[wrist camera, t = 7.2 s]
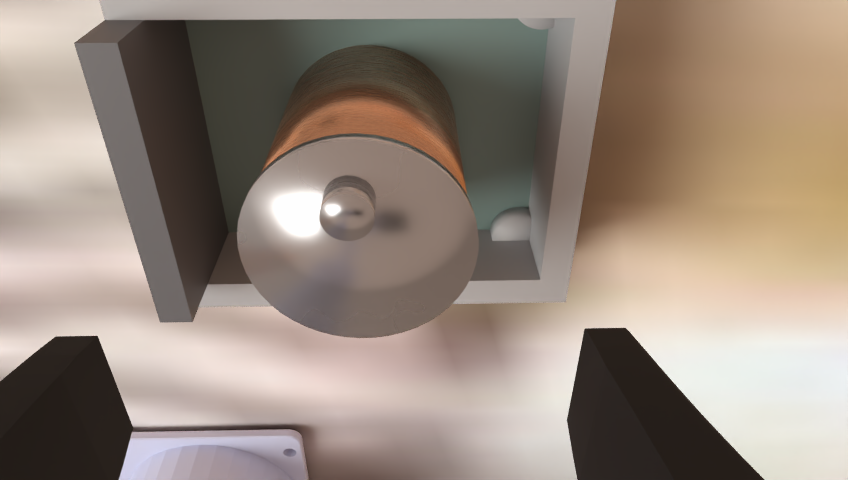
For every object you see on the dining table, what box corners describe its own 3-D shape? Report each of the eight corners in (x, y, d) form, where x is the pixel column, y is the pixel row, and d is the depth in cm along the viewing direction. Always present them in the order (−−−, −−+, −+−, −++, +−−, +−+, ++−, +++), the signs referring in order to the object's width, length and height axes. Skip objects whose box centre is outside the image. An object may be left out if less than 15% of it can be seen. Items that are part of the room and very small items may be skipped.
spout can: (464, 195, 19) (486, 350, 14) (302, 210, 19) (262, 369, 14) (453, 31, 16) (476, 146, 11) (264, 50, 16) (196, 172, 11)
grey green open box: (547, 249, 21) (581, 358, 17) (212, 253, 21) (165, 365, 17) (593, -87, 16) (661, -45, 11) (134, -86, 15) (36, -43, 11)
